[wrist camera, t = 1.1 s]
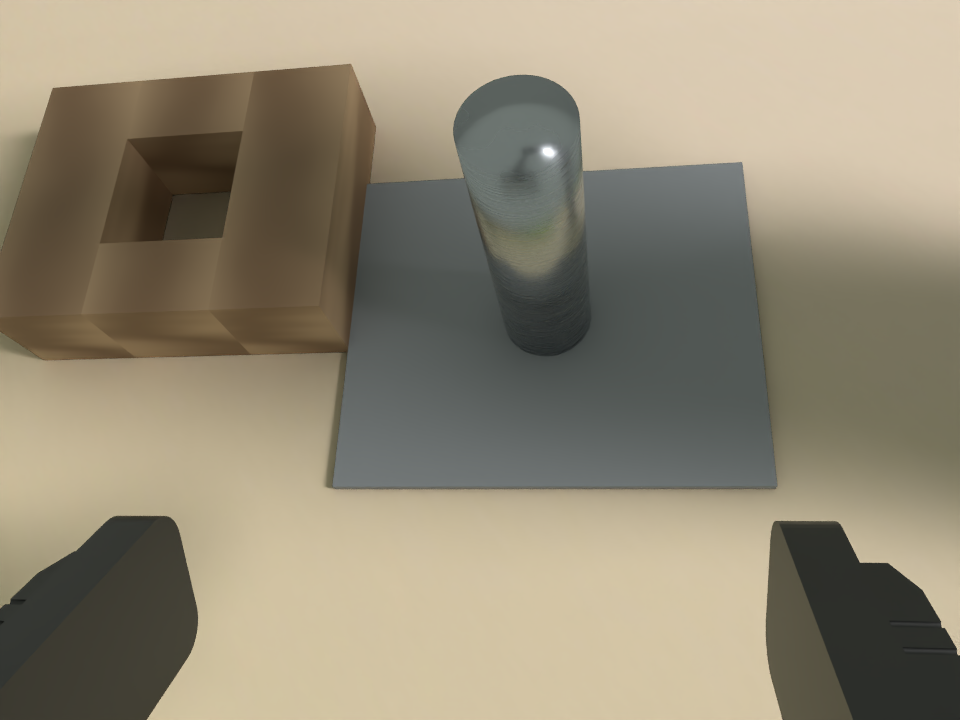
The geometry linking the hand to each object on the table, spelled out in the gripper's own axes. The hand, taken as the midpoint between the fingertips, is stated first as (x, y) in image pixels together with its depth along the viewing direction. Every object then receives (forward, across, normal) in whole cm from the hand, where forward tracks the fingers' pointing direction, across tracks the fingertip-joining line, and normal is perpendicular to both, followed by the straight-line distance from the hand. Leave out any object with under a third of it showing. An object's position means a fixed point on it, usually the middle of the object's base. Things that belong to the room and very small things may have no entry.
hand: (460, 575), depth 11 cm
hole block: (+21, +13, 0) cm, 25 cm away
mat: (+18, 0, +2) cm, 18 cm away
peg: (+18, 0, +2) cm, 18 cm away
